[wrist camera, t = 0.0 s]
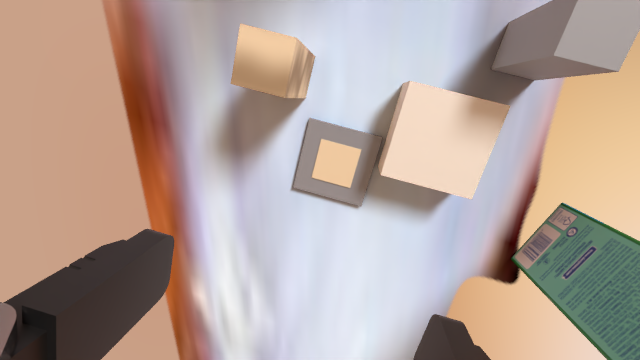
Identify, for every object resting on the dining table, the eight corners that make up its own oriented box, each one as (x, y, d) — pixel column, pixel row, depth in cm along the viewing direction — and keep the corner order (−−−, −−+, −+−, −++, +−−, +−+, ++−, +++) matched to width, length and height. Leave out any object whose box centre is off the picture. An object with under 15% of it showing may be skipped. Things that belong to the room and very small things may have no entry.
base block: (402, 83, 35) (410, 80, 30) (488, 105, 34) (510, 105, 29) (377, 165, 37) (380, 175, 33) (456, 186, 37) (471, 199, 32)
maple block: (275, 46, 35) (240, 23, 24) (315, 56, 35) (296, 38, 24) (267, 88, 36) (230, 83, 26) (305, 98, 36) (284, 97, 26)
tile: (310, 117, 37) (309, 118, 36) (382, 137, 36) (382, 137, 35) (293, 186, 39) (292, 187, 38) (361, 204, 39) (361, 207, 38)
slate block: (509, 22, 32) (584, -17, 21) (554, 33, 31) (654, 0, 21) (490, 69, 33) (553, 55, 22) (534, 80, 33) (618, 71, 22)
